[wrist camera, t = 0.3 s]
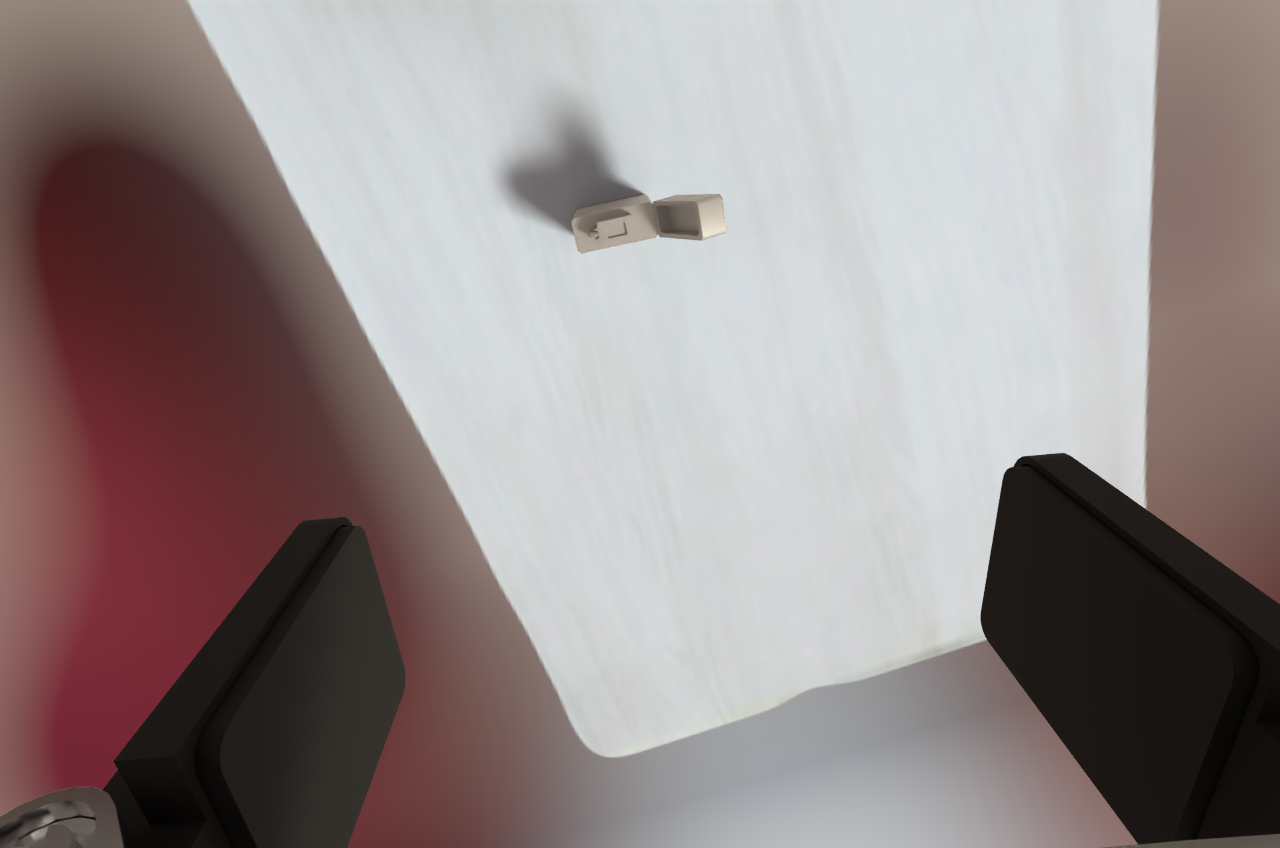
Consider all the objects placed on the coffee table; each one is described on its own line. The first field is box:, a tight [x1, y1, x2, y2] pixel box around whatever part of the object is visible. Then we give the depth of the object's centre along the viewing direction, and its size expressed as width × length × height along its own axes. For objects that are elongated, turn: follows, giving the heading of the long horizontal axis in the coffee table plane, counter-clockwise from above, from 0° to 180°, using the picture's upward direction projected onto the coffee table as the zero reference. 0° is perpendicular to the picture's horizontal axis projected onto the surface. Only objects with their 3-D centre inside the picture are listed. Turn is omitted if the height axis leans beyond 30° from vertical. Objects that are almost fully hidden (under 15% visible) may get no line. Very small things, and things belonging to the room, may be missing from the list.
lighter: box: [571, 194, 727, 253], centre depth 33 cm, size 7×2×8 cm, turn 102°
